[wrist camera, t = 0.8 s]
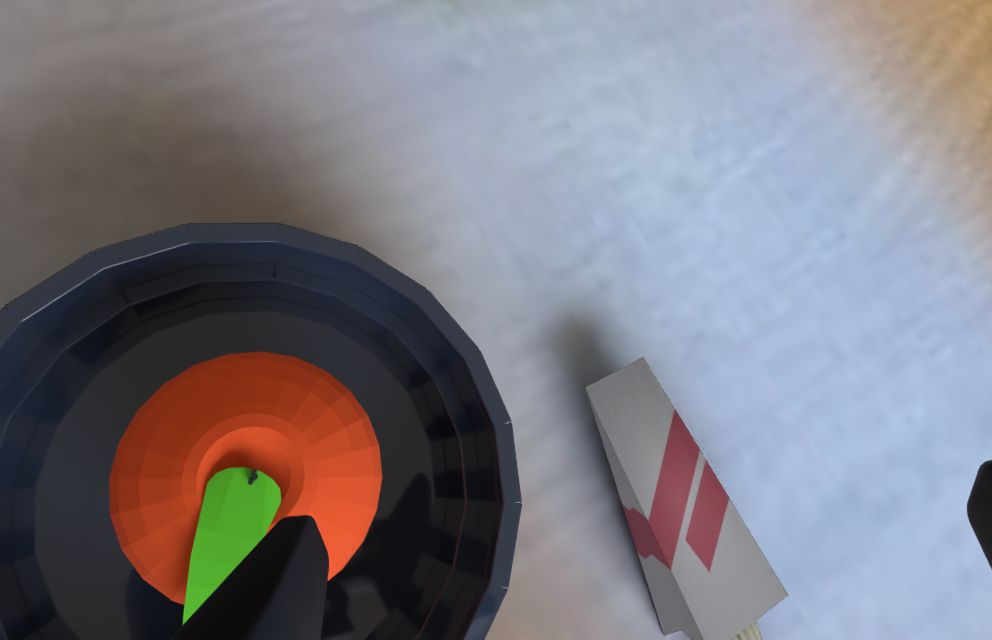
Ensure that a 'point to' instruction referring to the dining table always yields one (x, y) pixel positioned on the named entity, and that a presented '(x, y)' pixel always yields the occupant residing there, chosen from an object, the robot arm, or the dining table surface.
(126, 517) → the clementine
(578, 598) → the dining table surface
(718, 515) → the paintbrush
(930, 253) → the dining table surface
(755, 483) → the dining table surface
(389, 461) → the fruit bowl
